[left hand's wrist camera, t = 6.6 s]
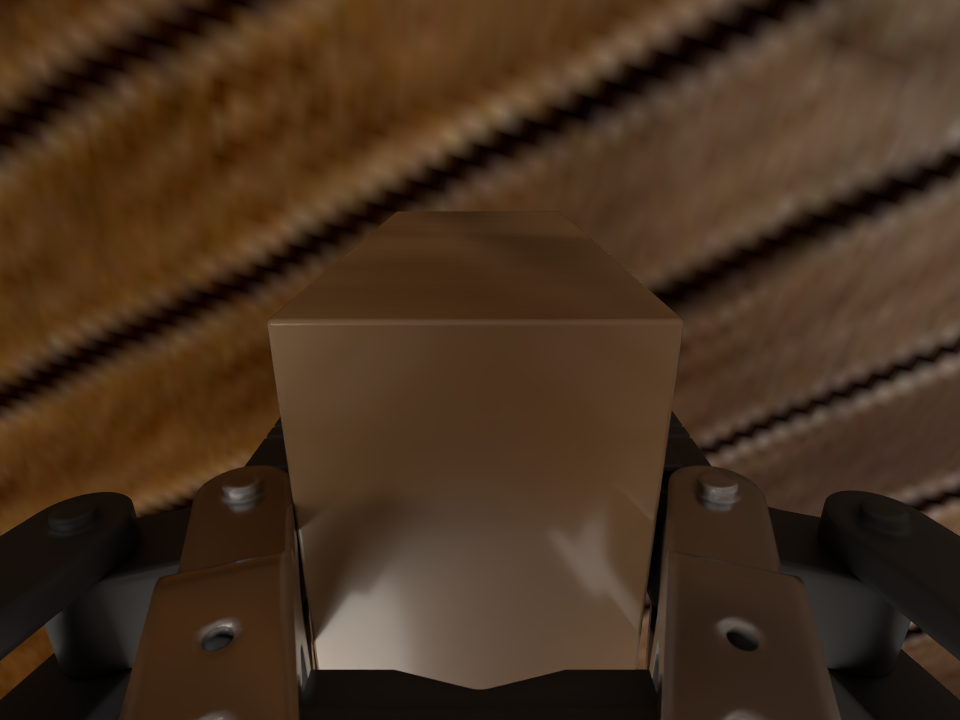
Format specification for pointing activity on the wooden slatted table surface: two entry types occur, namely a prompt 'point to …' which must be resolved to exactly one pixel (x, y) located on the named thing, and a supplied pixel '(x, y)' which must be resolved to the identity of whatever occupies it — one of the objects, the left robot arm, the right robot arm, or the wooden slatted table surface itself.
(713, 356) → the wooden slatted table surface
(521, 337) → the brick
